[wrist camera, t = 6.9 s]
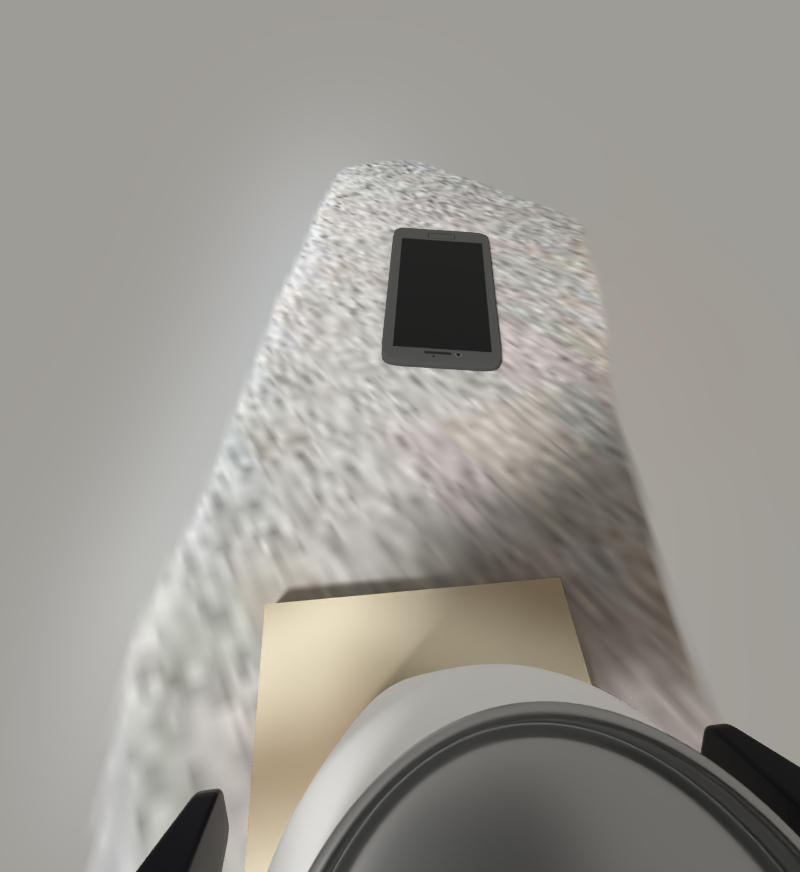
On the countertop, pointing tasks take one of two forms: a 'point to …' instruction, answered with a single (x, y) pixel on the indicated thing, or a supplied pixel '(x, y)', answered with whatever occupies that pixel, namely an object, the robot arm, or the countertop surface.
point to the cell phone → (441, 302)
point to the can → (523, 787)
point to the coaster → (380, 672)
